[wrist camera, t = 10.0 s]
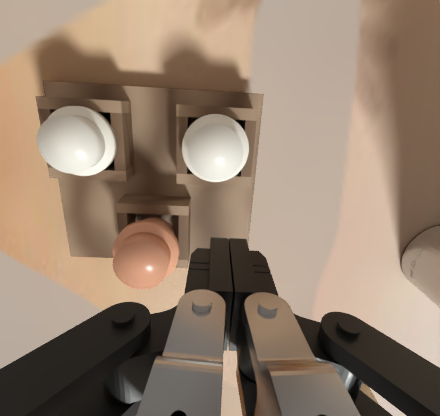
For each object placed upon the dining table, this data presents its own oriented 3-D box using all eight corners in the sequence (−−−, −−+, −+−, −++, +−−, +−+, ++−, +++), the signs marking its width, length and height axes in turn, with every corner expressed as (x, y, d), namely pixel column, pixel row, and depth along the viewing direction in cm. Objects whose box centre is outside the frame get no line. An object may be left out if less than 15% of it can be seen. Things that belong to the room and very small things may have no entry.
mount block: (261, 94, 28) (269, 92, 23) (244, 255, 34) (249, 276, 30) (51, 81, 27) (21, 77, 22) (76, 250, 33) (57, 270, 29)
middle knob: (182, 210, 27) (175, 236, 22) (182, 261, 30) (175, 296, 24) (123, 208, 27) (100, 233, 22) (127, 259, 29) (107, 294, 24)
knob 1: (124, 107, 26) (101, 108, 21) (128, 168, 28) (108, 183, 23) (61, 104, 26) (21, 103, 20) (69, 165, 28) (35, 180, 23)
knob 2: (246, 114, 27) (255, 116, 21) (241, 174, 29) (248, 189, 23) (186, 111, 26) (179, 112, 21) (185, 171, 29) (179, 186, 23)
